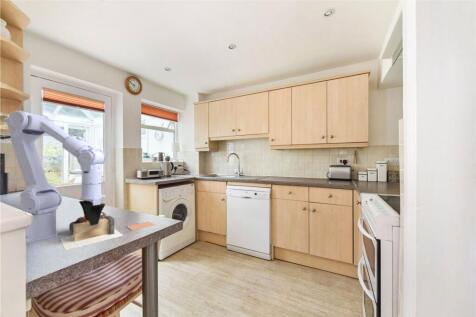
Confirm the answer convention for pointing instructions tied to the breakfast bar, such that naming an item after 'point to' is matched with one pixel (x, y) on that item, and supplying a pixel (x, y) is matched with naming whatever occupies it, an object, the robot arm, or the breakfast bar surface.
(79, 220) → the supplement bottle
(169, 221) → the breakfast bar surface
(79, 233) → the wooden tool caddy
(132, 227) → the tile
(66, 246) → the rest mat
